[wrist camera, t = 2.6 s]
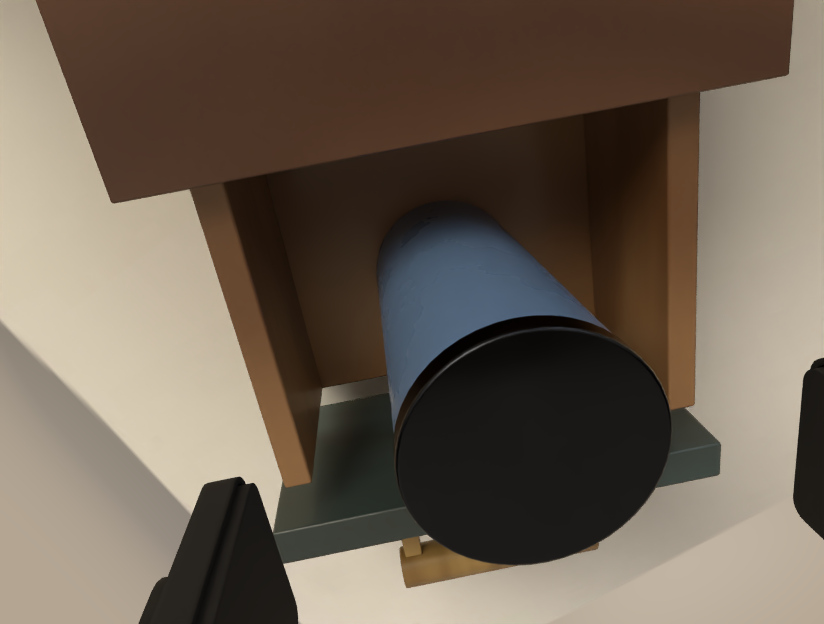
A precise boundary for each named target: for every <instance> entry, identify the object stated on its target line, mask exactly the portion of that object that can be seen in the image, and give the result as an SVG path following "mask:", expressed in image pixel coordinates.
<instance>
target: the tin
mask: <svg viewBox="0 0 824 624" xmlns="http://www.w3.org/2000/svg"><path fill="white" fill-rule="evenodd" d="M376 275H377V284H378V293H379V302H380V312H381V321H382V330H383V339H384V348H385V358H386V367H387V376H388V385H389V394H390V404H391V413H392V422H393V431H394V436H393V457H394V467H395V475H396V482H397V486H398V489H399V492H400V495H401V498H402V500H403V502H404V504H405V506H406V508H407V510H408V512H409V513H410V515H411V516H412V518H413V519H414V520H415V522H416V523H417V524H418V525H419V526H420V527H421V528H422V529H423V530H424V532H425V533H426V534H427V535H428V536H430V537H431V538H432V539H434V540H435V541H436V542H438V543H439V544H440V545H442V546H444V547H445V548H447V549H449V550H451V551H452V552H454V553H457V554H459V555H462V556H464V557H467V558H470V559H473V560H477V561H480V562H485V563H491V564H498V565H531V564H538V563H544V562H550V561H553V560H557V559H561V558H565V557H567V556H570V555H573V554H576V553H578V552H581V551H583V550H585V549H587V548H589V547H591V546H593V545H595V544H597V543H599V542H600V541H602V540H604V539H605V538H607V537H609V536H610V535H611V534H613V533H614V532H615V531H617V530H618V529H619V528H621V527H622V526H623V525H624V524H625V523H627V522H628V521H629V520H630V519H631V518H632V517H633V516H634V515H635V514H636V513H637V512H638V511H639V510H640V508H641V507H642V506H643V505H644V504H645V503H646V501H647V500H648V498H649V497H650V495H651V494H652V493H653V491H654V490H655V488H656V486H657V484H658V482H659V480H660V478H661V477H662V475H663V472H664V469H665V467H666V464H667V461H668V457H669V453H670V448H671V442H672V418H671V411H670V407H669V403H668V398H667V396H666V393H665V391H664V389H663V386H662V384H661V382H660V381H659V379H658V377H657V376H656V374H655V373H654V371H653V370H652V369H651V368H650V366H649V365H648V364H647V363H646V362H645V361H644V360H643V359H642V358H641V357H640V356H639V355H638V354H637V353H636V352H635V351H634V350H633V349H632V348H631V347H630V346H629V345H627V344H626V343H625V342H624V341H623V340H621V339H620V338H619V337H618V336H616V335H614V334H612V333H611V332H610V331H609V330H608V329H607V328H606V327H605V326H604V325H603V324H602V323H601V322H600V321H599V320H598V319H597V318H596V317H595V316H594V315H593V314H592V313H591V312H590V311H589V310H588V309H586V308H585V307H584V306H583V305H582V304H581V303H580V302H579V301H578V300H577V299H576V298H575V297H574V296H573V295H572V294H571V293H570V292H569V291H568V290H567V289H566V288H565V287H564V286H563V285H562V284H561V283H560V282H559V281H558V280H557V279H556V278H555V277H554V276H552V275H551V274H550V273H549V272H548V271H547V270H546V269H545V268H544V267H543V266H542V265H541V264H540V263H539V262H538V261H537V260H536V259H535V258H534V257H533V256H532V255H531V254H530V253H529V252H528V251H527V250H526V249H525V248H524V247H523V246H522V245H521V244H520V243H518V242H517V241H516V240H515V239H514V238H513V237H512V236H511V235H510V234H509V233H508V232H507V231H506V230H505V229H504V228H503V227H502V226H501V225H500V224H499V223H498V222H497V221H496V220H495V219H494V218H493V217H491V216H490V215H489V214H488V213H486V212H485V211H483V210H482V209H480V208H478V207H476V206H473V205H471V204H468V203H464V202H459V201H436V202H431V203H428V204H424V205H422V206H419V207H417V208H415V209H413V210H411V211H410V212H408V213H407V214H405V215H404V216H403V217H401V218H400V219H399V220H398V221H397V222H396V223H395V224H394V225H393V226H392V228H391V229H390V230H389V231H388V233H387V235H386V236H385V238H384V240H383V242H382V244H381V247H380V250H379V253H378V257H377V265H376Z"/></svg>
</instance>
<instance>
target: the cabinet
mask: <svg viewBox="0 0 824 624" xmlns="http://www.w3.org/2000/svg"><path fill="white" fill-rule="evenodd" d="M36 2H37V5H38V8H39V10H40V13H41V16H42V18H43V21H44V24H45V26H46V29H47V32H48V34H49V37H50V40H51V42H52V45H53V48H54V51H55V53H56V56H57V59H58V61H59V64H60V67H61V69H62V72H63V75H64V77H65V80H66V83H67V85H68V88H69V91H70V93H71V96H72V99H73V101H74V104H75V107H76V109H77V112H78V115H79V117H80V120H81V123H82V125H83V128H84V131H85V133H86V136H87V139H88V141H89V144H90V147H91V149H92V152H93V155H94V157H95V160H96V163H97V165H98V168H99V171H100V173H101V176H102V179H103V181H104V184H105V187H106V189H107V192H108V195H109V197H110V200H111V202H112V203H119V202H125V201H130V200H135V199H141V198H146V197H151V196H156V195H162V194H167V193H172V192H177V191H183V190H188V189H193V188H198V187H204V186H209V185H214V184H219V183H225V182H230V181H235V180H240V179H246V178H251V177H256V176H262V175H267V174H272V173H277V172H283V171H288V170H293V169H298V168H304V167H309V166H314V165H319V164H325V163H330V162H335V161H340V160H346V159H351V158H356V157H362V156H367V155H372V154H377V153H383V152H388V151H393V150H398V149H404V148H409V147H414V146H419V145H425V144H430V143H435V142H440V141H446V140H451V139H456V138H461V137H467V136H472V135H477V134H483V133H488V132H493V131H498V130H504V129H509V128H514V127H519V126H525V125H530V124H535V123H540V122H546V121H551V120H556V119H561V118H567V117H572V116H577V115H583V114H588V113H593V112H598V111H604V110H609V109H614V108H619V107H625V106H630V105H635V104H640V103H646V102H651V101H656V100H661V99H667V98H672V97H677V96H683V95H688V94H693V93H698V92H704V91H709V90H714V89H719V88H725V87H730V86H735V85H740V84H746V83H751V82H756V81H761V80H767V79H772V78H777V77H782V76H786V75H788V74H789V63H790V49H791V35H792V21H793V7H794V0H36Z"/></svg>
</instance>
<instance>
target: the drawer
mask: <svg viewBox="0 0 824 624" xmlns="http://www.w3.org/2000/svg"><path fill="white" fill-rule="evenodd" d="M699 114H700V92H698V93H693V94H688V95H683V96H677V97H672V98H667V99H661V100H656V101H651V102H646V103H640V104H635V105H630V106H625V107H619V108H614V109H609V110H604V111H598V112H593V113H588V114H583V115H577V116H572V117H567V118H561V119H556V120H551V121H546V122H540V123H535V124H530V125H525V126H519V127H514V128H509V129H504V130H498V131H493V132H488V133H483V134H477V135H472V136H467V137H461V138H456V139H451V140H446V141H440V142H435V143H430V144H425V145H419V146H414V147H409V148H404V149H398V150H393V151H388V152H383V153H377V154H372V155H367V156H362V157H356V158H351V159H346V160H340V161H335V162H330V163H325V164H319V165H314V166H309V167H304V168H298V169H293V170H288V171H283V172H277V173H272V174H267V175H262V176H256V177H251V178H246V179H240V180H235V181H230V182H225V183H219V184H214V185H209V186H204V187H198V188H193V189H190V191H191V194H192V198H193V201H194V204H195V207H196V210H197V213H198V216H199V219H200V223H201V226H202V229H203V232H204V235H205V238H206V241H207V245H208V248H209V251H210V254H211V257H212V260H213V263H214V266H215V270H216V273H217V276H218V279H219V282H220V285H221V288H222V292H223V295H224V298H225V301H226V304H227V307H228V310H229V313H230V317H231V320H232V323H233V326H234V329H235V332H236V335H237V339H238V342H239V345H240V348H241V351H242V354H243V357H244V360H245V364H246V367H247V370H248V373H249V376H250V379H251V382H252V386H253V389H254V392H255V395H256V398H257V401H258V404H259V407H260V411H261V414H262V417H263V420H264V423H265V426H266V429H267V433H268V436H269V439H270V442H271V445H272V448H273V451H274V454H275V458H276V461H277V464H278V467H279V470H280V473H281V476H282V480H283V481H282V487H281V492H280V498H279V503H278V508H277V514H276V519H275V525H274V530H273V535H274V538H275V541H276V544H277V547H278V550H279V553H280V556H281V559H282V562H283V563H284V564H285V563H290V562H295V561H300V560H305V559H310V558H315V557H320V556H325V555H329V554H334V553H339V552H344V551H349V550H354V549H359V548H364V547H369V546H374V545H378V544H383V543H388V542H393V541H398V540H402V544H403V546H401V547H400V560H401V566H402V572H403V577H404V582H405V586H406V588H411V587H416V586H421V585H426V584H431V583H435V582H440V581H445V580H450V579H455V578H460V577H465V576H469V575H474V574H479V573H484V572H489V571H494V570H499V569H504V568H508V567H513V566H518V565H498V564H491V563H485V562H480V561H477V560H473V559H470V558H467V557H464V556H462V555H459V554H457V553H454V552H452V551H451V550H449V549H447V548H445V547H444V546H442V545H440V544H439V543H438V542H436V541H435V540H431V541H426V542H420V537H419V536H423V535H427V534H426V533H425V532H424V530H423V529H422V528H421V527H420V526H419V525H418V524H417V523H416V522H415V520H414V519H413V518H412V516H411V515H410V513H409V512H408V510H407V508H406V506H405V504H404V502H403V500H402V498H401V495H400V492H399V489H398V486H397V482H396V475H395V467H394V457H393V436H394V431H393V422H392V413H391V404H390V394H389V393H386V394H381V395H376V396H371V397H366V398H361V399H356V400H351V401H346V402H340V403H335V404H330V405H325V406H320V404H321V395H322V388H325V387H330V386H336V385H341V384H346V383H351V382H356V381H361V380H366V379H371V378H376V377H381V376H386V375H387V367H386V358H385V348H384V339H383V330H382V321H381V312H380V302H379V293H378V284H377V275H376V265H377V257H378V253H379V250H380V247H381V244H382V242H383V240H384V238H385V236H386V235H387V233H388V231H389V230H390V229H391V228H392V226H393V225H394V224H395V223H396V222H397V221H398V220H399V219H400V218H401V217H403V216H404V215H405V214H407V213H408V212H410V211H411V210H413V209H415V208H417V207H419V206H422V205H424V204H428V203H431V202H436V201H459V202H464V203H468V204H471V205H473V206H476V207H478V208H480V209H482V210H483V211H485V212H486V213H488V214H489V215H490V216H491V217H493V218H494V219H495V220H496V221H497V222H498V223H499V224H500V225H501V226H502V227H503V228H504V229H505V230H506V231H507V232H508V233H509V234H510V235H511V236H512V237H513V238H514V239H515V240H516V241H517V242H518V243H520V244H521V245H522V246H523V247H524V248H525V249H526V250H527V251H528V252H529V253H530V254H531V255H532V256H533V257H534V258H535V259H536V260H537V261H538V262H539V263H540V264H541V265H542V266H543V267H544V268H545V269H546V270H547V271H548V272H549V273H550V274H551V275H552V276H554V277H555V278H556V279H557V280H558V281H559V282H560V283H561V284H562V285H563V286H564V287H565V288H566V289H567V290H568V291H569V292H570V293H571V294H572V295H573V296H574V297H575V298H576V299H577V300H578V301H579V302H580V303H581V304H582V305H583V306H584V307H585V308H586V309H588V310H589V311H590V312H591V313H592V314H593V315H594V316H595V317H596V318H597V319H598V320H599V321H600V322H601V323H602V324H603V325H604V326H605V327H606V328H607V329H608V330H609V331H610V332H611V333H612V334H614V335H616V336H618V337H619V338H620V339H621V340H623V341H624V342H625V343H626V344H627V345H629V346H630V347H631V348H632V349H633V350H634V351H635V352H636V353H637V354H638V355H639V356H640V357H641V358H642V359H643V360H644V361H645V362H646V363H647V364H648V365H649V366H650V368H651V369H652V370H653V371H654V373H655V374H656V376H657V377H658V379H659V381H660V382H661V384H662V386H663V389H664V391H665V393H666V396H667V398H668V403H669V407H670V411H671V418H672V442H671V448H670V453H669V457H668V461H667V464H666V467H665V469H664V472H663V475H662V477H661V478H660V480H659V482H658V484H657V486H656V488H658V487H663V486H668V485H673V484H678V483H683V482H688V481H692V480H697V479H702V478H707V477H712V476H717V475H719V474H720V453H721V444H720V442H719V441H718V440H717V439H716V438H715V437H714V436H713V435H712V434H711V433H710V432H709V431H708V430H707V429H706V428H705V427H704V426H703V425H702V424H701V423H699V422H698V421H697V420H696V419H695V418H694V417H693V416H692V415H691V414H690V413H689V412H688V411H687V410H686V409H685V408H684V407H689V406H693V405H694V404H695V348H696V290H697V231H698V173H699ZM598 546H599V543H597V544H595V545H593V546H591V547H589V548H587V549H585V550H583V551H581V552H586V551H591V550H596V549H598ZM581 552H578V553H581Z"/></svg>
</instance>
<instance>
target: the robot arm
mask: <svg viewBox="0 0 824 624" xmlns="http://www.w3.org/2000/svg"><path fill="white" fill-rule="evenodd" d="M793 500H794V505H795V508H796V510H797V512H798V514H799V515H800V517H801V518H802V519H803V520H804V521H805V522H806V523H807V524H808V525H809V526H810V527H811V528H812V529H813V530H814V531H815V532H816V533H817V534H819V535H820V536H821V537H822V538H823V539H824V358H821V359H818V360H816V361H814V363H813V364H812V365H811V369H810V370H808V371H807V372H806V373H805V375H804V378H803V388H802V400H801V412H800V423H799V435H798V446H797V458H796V469H795V481H794V493H793ZM139 624H298V612H297V605H296V601H295V598H294V595H293V592H292V589H291V586H290V583H289V580H288V577H287V574H286V571H285V568H284V565H283V562H282V559H281V556H280V553H279V550H278V547H277V544H276V541H275V538H274V535H273V532H272V529H271V526H270V524H269V521H268V518H267V515H266V512H265V509H264V506H263V503H262V500H261V497H260V494H259V491H258V488H257V486H256V485H255V484H254V483H250V484H245V481H244V480H243V479H242V478H241V477H235V478H230V479H225V480H220V481H215V482H210V483H207V484H205V485H204V486H203V488H202V490H201V492H200V495H199V498H198V500H197V503H196V505H195V508H194V510H193V513H192V516H191V519H190V521H189V523H188V526H187V529H186V531H185V534H184V536H183V539H182V541H181V544H180V547H179V549H178V552H177V554H176V557H175V559H174V562H173V565H172V567H171V570H170V572H169V575H168V577H164V578H162V579H160V580H159V581H158V582H157V583H156V585H155V586H154V588H153V590H152V592H151V594H150V597H149V599H148V602H147V604H146V606H145V609H144V611H143V614H142V616H141V619H140V622H139Z"/></svg>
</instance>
